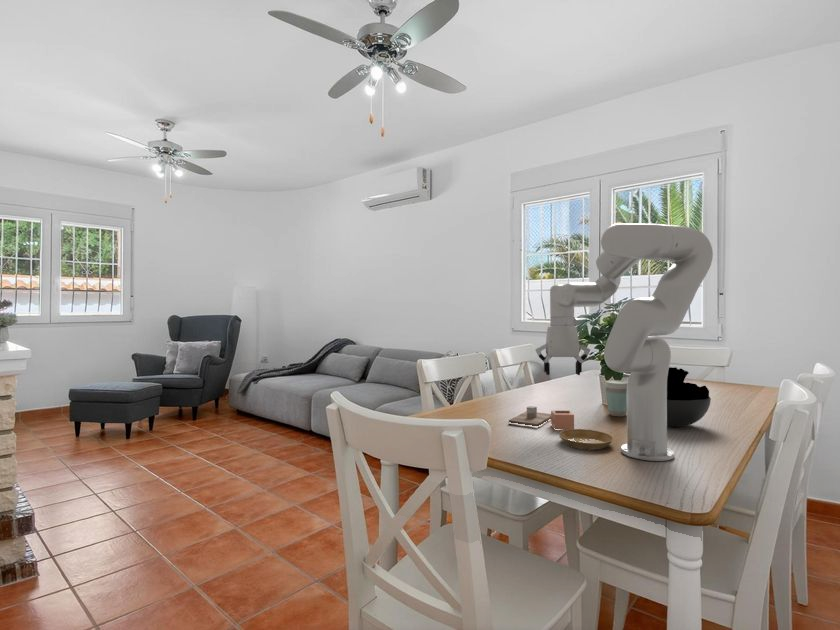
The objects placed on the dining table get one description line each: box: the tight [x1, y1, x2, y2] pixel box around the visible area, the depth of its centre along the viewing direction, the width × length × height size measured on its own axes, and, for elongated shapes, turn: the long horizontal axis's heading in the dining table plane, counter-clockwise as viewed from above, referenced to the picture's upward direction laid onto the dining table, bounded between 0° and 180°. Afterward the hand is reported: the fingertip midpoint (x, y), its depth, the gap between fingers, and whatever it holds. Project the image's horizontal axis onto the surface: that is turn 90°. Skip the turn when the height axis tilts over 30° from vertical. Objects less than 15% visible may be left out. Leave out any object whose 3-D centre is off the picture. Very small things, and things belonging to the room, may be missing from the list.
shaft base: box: [508, 405, 551, 426], centre depth 157 cm, size 16×10×5 cm, turn 145°
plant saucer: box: [558, 428, 615, 450], centre depth 130 cm, size 15×15×3 cm
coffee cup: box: [604, 379, 628, 417], centre depth 165 cm, size 8×9×12 cm
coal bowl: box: [667, 366, 712, 427], centre depth 149 cm, size 20×20×19 cm
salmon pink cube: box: [550, 409, 575, 431], centre depth 148 cm, size 6×6×6 cm
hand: (562, 374), depth 149 cm, fingers open, 9 cm apart
